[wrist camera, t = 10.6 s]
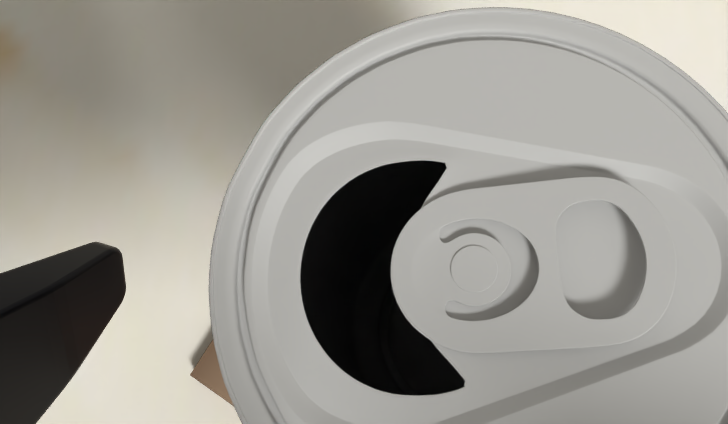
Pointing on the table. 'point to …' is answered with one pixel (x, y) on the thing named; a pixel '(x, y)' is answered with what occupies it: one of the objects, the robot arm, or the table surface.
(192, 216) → the table surface
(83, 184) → the table surface
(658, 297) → the beverage can
